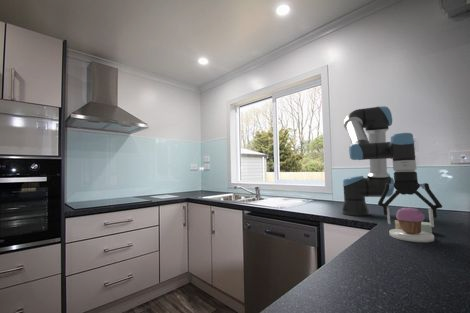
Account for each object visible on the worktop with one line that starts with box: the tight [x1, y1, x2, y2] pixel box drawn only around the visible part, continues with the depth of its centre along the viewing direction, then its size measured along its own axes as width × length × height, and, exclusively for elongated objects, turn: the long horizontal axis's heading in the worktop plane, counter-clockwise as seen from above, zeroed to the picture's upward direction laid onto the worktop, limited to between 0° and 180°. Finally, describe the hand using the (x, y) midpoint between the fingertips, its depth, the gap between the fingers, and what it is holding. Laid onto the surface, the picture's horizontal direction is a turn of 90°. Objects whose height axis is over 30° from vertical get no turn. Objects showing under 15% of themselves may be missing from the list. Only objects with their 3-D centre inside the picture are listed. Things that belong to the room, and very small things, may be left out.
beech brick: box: [394, 219, 401, 229], centre depth 98 cm, size 6×4×4 cm, turn 149°
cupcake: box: [395, 206, 425, 234], centre depth 89 cm, size 9×9×10 cm
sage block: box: [421, 221, 433, 234], centre depth 94 cm, size 6×4×4 cm, turn 142°
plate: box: [388, 228, 435, 243], centre depth 89 cm, size 14×14×2 cm
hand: (409, 224), depth 89 cm, fingers open, 13 cm apart
